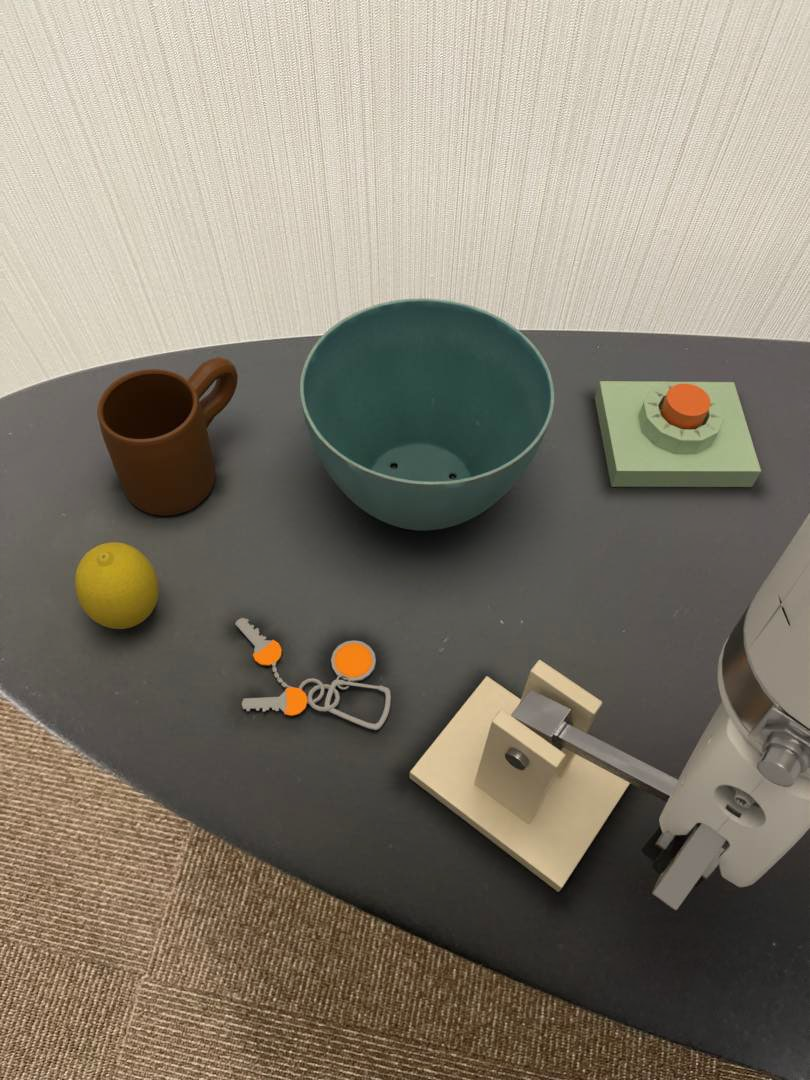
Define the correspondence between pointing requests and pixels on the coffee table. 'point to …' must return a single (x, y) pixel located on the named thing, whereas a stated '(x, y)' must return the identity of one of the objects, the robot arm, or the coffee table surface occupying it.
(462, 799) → the bracket
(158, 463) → the mug
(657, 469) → the button block
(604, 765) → the lever
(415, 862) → the coffee table surface
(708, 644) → the coffee table surface
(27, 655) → the coffee table surface
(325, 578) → the coffee table surface
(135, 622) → the lemon
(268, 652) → the key chain
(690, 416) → the button
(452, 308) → the plant pot
